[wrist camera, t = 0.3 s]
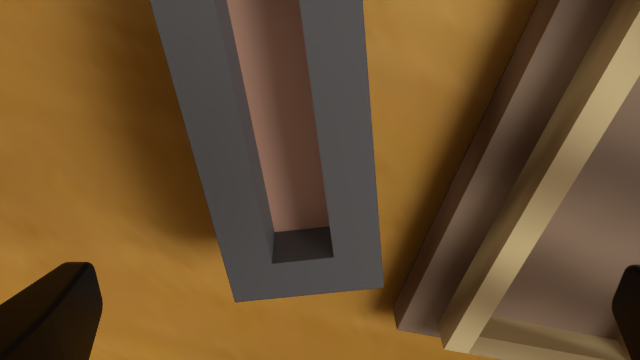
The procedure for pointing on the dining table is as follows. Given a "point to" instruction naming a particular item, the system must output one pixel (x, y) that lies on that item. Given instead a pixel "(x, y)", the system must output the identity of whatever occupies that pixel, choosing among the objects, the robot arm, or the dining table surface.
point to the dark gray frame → (280, 139)
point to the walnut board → (542, 199)
